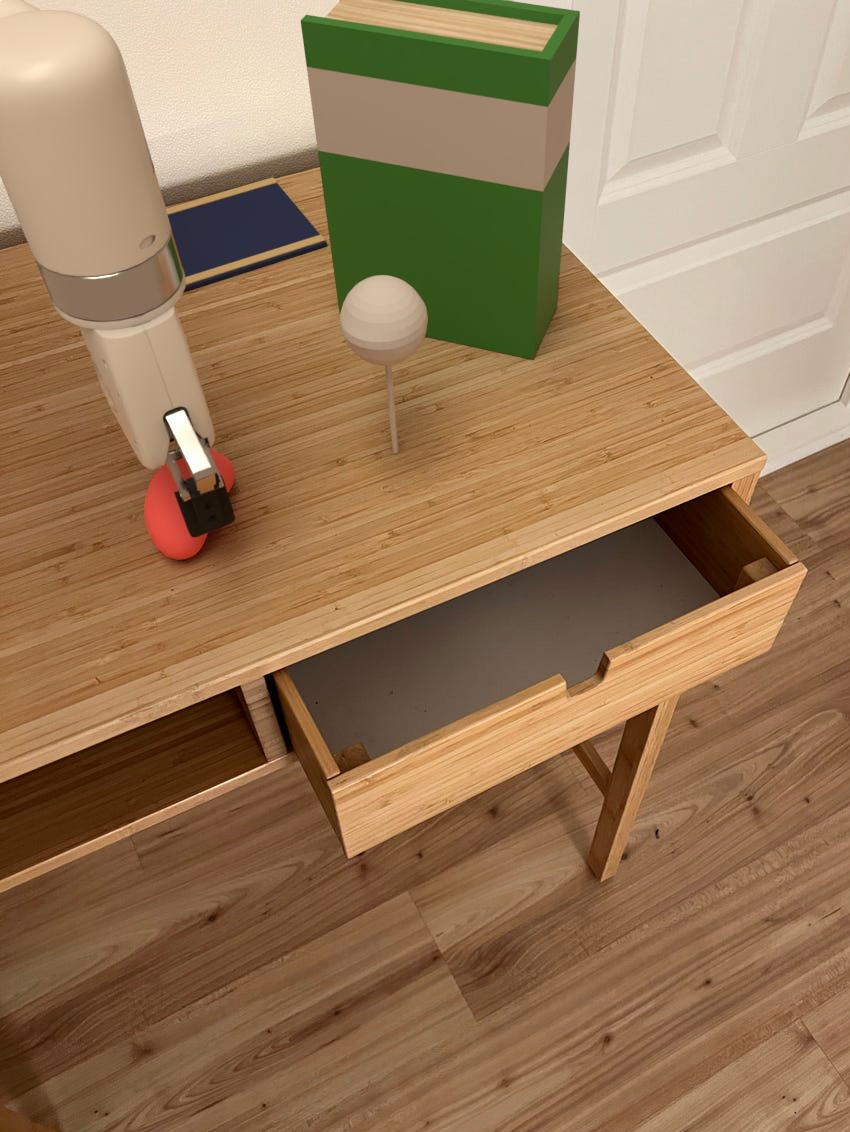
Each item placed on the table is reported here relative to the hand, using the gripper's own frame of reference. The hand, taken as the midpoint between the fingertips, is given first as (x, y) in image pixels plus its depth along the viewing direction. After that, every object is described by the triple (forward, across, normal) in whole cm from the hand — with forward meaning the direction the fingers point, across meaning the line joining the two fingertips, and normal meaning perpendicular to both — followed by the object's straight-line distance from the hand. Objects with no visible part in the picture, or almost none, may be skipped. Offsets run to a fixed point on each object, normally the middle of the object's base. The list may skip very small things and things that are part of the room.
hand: (187, 483), depth 70 cm
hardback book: (+4, -12, +28) cm, 31 cm away
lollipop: (+4, +1, +16) cm, 16 cm away
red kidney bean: (+4, 0, 0) cm, 4 cm away
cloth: (+4, -33, +14) cm, 36 cm away
